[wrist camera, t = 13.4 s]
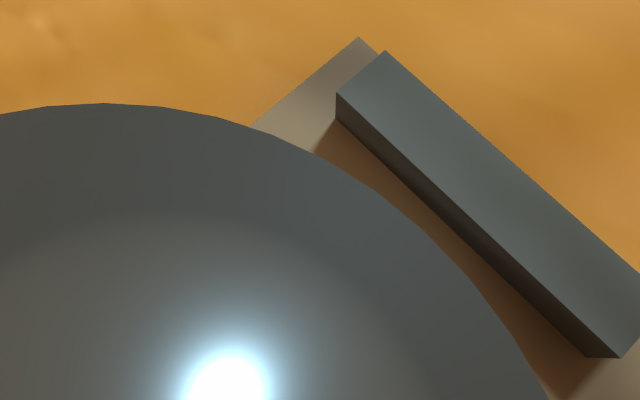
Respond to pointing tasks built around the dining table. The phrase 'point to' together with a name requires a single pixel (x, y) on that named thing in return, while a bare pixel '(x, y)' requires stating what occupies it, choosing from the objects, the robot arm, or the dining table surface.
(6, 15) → the dining table surface
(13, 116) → the dark grey cylinder
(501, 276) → the jig
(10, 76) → the dining table surface
